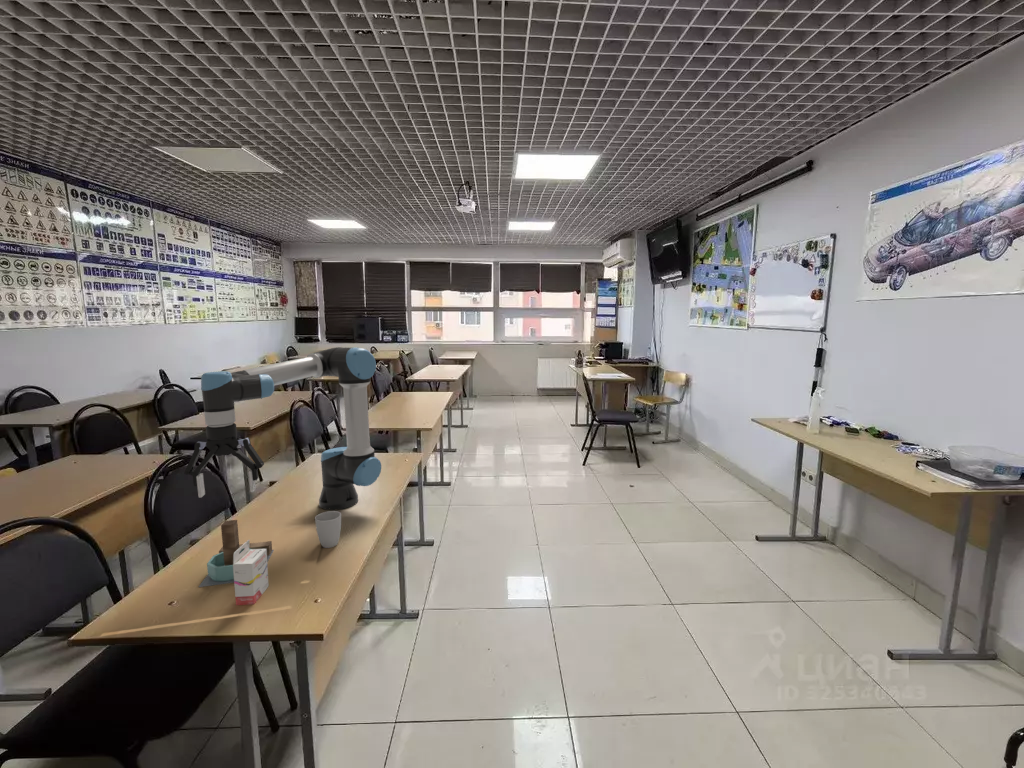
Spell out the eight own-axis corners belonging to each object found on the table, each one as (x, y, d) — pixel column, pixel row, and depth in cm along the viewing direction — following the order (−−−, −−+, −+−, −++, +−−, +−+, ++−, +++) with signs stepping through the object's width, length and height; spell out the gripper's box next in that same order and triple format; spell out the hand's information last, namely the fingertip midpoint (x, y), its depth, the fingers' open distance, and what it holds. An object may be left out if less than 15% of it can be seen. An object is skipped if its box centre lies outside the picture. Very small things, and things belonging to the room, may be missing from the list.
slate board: (274, 551, 145) (274, 549, 145) (258, 581, 128) (257, 579, 128) (222, 557, 142) (222, 555, 141) (198, 589, 124) (198, 587, 124)
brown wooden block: (240, 564, 134) (237, 519, 133) (237, 569, 131) (233, 524, 130) (228, 565, 134) (225, 520, 132) (224, 571, 130) (220, 525, 129)
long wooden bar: (272, 550, 145) (271, 541, 144) (269, 555, 142) (268, 545, 141) (223, 556, 141) (222, 546, 141) (219, 561, 138) (218, 551, 138)
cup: (347, 540, 152) (346, 512, 151) (331, 551, 145) (329, 522, 144) (328, 537, 155) (327, 509, 154) (311, 548, 147) (309, 519, 146)
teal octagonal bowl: (259, 558, 139) (258, 545, 139) (248, 578, 128) (247, 564, 128) (218, 563, 137) (217, 550, 136) (203, 584, 126) (202, 569, 125)
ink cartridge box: (255, 606, 116) (251, 553, 115) (235, 607, 116) (230, 553, 114) (270, 587, 125) (266, 537, 123) (251, 588, 125) (247, 538, 123)
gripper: (270, 418, 138) (276, 484, 141) (177, 424, 132) (185, 493, 134) (264, 423, 131) (270, 493, 134) (165, 430, 124) (173, 502, 127)
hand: (227, 493), depth 134 cm, fingers open, 13 cm apart
